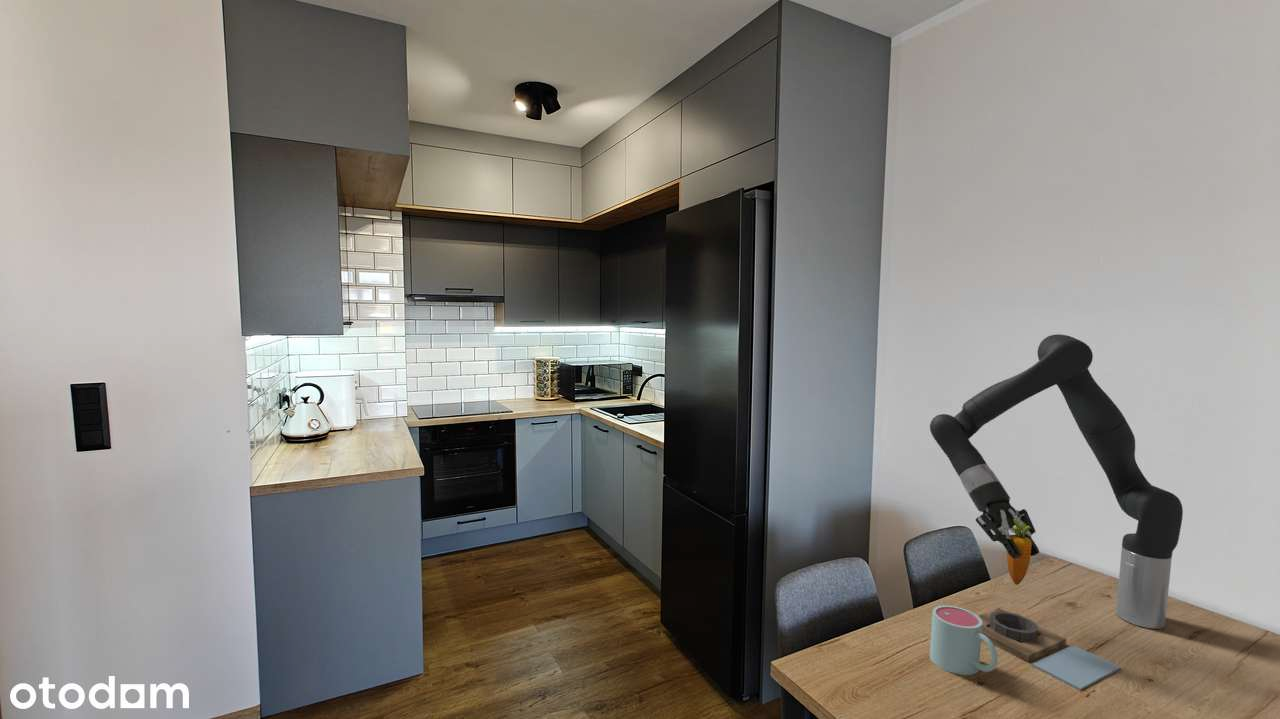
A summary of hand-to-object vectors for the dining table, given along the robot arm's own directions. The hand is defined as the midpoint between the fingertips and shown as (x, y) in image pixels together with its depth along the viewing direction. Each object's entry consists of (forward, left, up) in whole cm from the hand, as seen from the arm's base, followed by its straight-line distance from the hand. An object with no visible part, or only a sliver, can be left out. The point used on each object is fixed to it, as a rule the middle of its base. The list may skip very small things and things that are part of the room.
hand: (1026, 555), depth 131 cm
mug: (+22, +1, -20) cm, 30 cm away
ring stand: (0, -2, -20) cm, 20 cm away
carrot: (0, -2, -8) cm, 8 cm away
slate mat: (0, +11, -20) cm, 23 cm away
